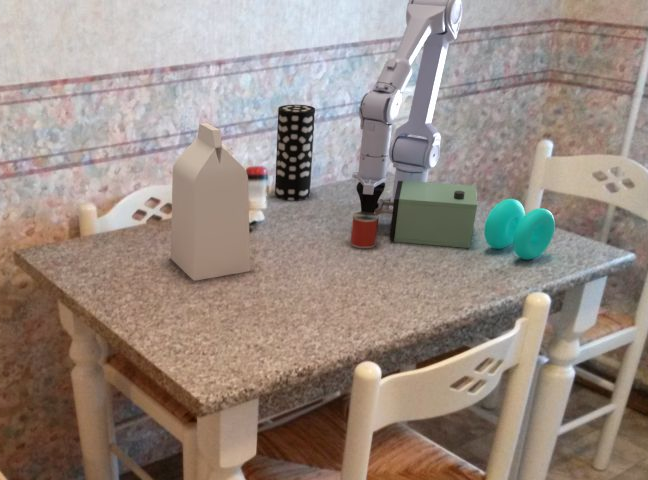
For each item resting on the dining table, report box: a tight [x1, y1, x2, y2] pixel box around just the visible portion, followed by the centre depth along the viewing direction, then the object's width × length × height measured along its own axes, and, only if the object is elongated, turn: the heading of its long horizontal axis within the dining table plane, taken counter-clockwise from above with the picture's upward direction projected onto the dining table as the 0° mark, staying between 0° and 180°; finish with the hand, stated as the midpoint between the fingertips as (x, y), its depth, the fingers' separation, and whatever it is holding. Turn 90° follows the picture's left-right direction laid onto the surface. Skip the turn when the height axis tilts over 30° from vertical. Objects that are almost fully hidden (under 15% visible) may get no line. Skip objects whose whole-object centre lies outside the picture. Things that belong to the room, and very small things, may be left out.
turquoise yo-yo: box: [483, 198, 556, 261], centre depth 159 cm, size 10×10×10 cm
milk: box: [170, 122, 251, 282], centre depth 150 cm, size 12×12×26 cm
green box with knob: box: [393, 181, 478, 249], centre depth 168 cm, size 13×15×10 cm
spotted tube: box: [274, 104, 316, 201], centre depth 189 cm, size 8×8×20 cm
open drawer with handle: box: [374, 181, 403, 240], centre depth 169 cm, size 13×18×8 cm
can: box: [350, 211, 380, 250], centre depth 164 cm, size 5×5×6 cm
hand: (367, 217), depth 173 cm, fingers closed, pressing on open drawer with handle
